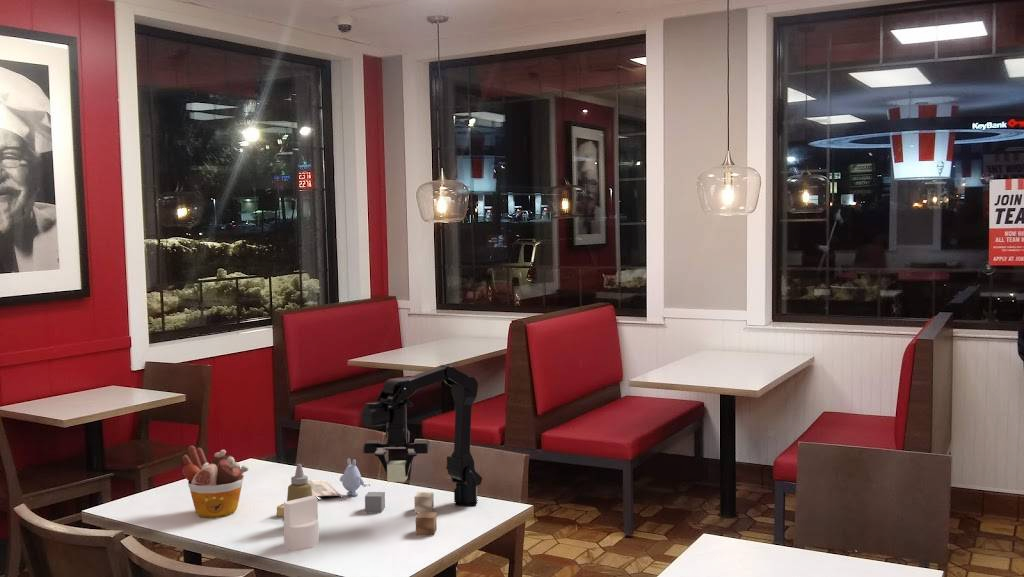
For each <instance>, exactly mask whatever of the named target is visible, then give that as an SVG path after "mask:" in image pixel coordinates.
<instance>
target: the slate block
mask: <svg viewBox="0 0 1024 577" xmlns="http://www.w3.org/2000/svg"><path fill="white" fill-rule="evenodd" d="M384 508H385V509H386V493H385V491H368V492H367V494H365V496H364V511H365V512H371V514H373V513H374V514H375V512H380V514H381V512H383V511H384V510H385V509H384ZM365 512H364V513H365ZM372 512H373V513H372Z"/></svg>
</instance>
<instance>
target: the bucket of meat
mask: <svg viewBox="0 0 1024 577" xmlns="http://www.w3.org/2000/svg"><path fill="white" fill-rule="evenodd" d="M187 451H188V452H189V453H188V454H189V455H188V454H184V455H182V459H181V460H182V462H183V463H184V466H183V468H182V469H181V470H182V471H181V472H182V474H183V476H184V477H185V479H186V480H188V481H187V482H188V483H187V484H188V487H189V492H190V496H191V498H192V503H193V507H194V510H195V514H196V515H197V516H198V517H201V518H206V519H209V518H210V519H211V518H212V519H215V518H216V519H217V518H223V517H227V516H230V515H232V514H234V513H235V512H236V511H237V509H238V508H239V502H240V498H241V490H242V486H243V482H244V479H245V478H244V477H245V475H243V474H244V473H246V472H248V471H249V467H248V466H246V465H245V464H244V465H242V466H241V467H240V465H241V464H240V463H239V462H237V461H235V458H234V457H233V455H226V453H227V451H226V450H225V449H221V450H220V451H219V452H218V451H217V452H215V453H214V456H213V457H215V458H213V459H211V461H210V462H208V461H207V458H206V455H205V452H204V450H203V448H202V447H198V448H196V447H195V446H194V445H189V446H188V450H187Z"/></svg>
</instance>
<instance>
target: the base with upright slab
mask: <svg viewBox="0 0 1024 577" xmlns="http://www.w3.org/2000/svg"><path fill="white" fill-rule="evenodd" d="M283 504H284V517H283V541H284V542H283V544H284V545H283V546H284V548H286V549H288V550H293V551H294V550H295V551H299V550H307V549H312V548H315V547H316V546H318V545H319V540H320V538H319V516H318V515H319V512H318V507H319V506H318V500H317V497H315V496H308V497H304V498H300V499H295V500H291V501H287V500H286V501H284V502H283Z"/></svg>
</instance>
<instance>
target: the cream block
mask: <svg viewBox="0 0 1024 577" xmlns="http://www.w3.org/2000/svg"><path fill="white" fill-rule="evenodd" d="M434 495H435V494H434V492H433V491H430V492H429V491H427V492H426V491H423V492H422V491H421V492H420V491H419V492H416V493H415V495H414V503H413V504H414V513H415V512H433V511H432V509H433V507H434V508H435V506H434V505H435V503H434V502H435V501H434V500H435V498H434ZM433 510H434V509H433Z"/></svg>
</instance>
